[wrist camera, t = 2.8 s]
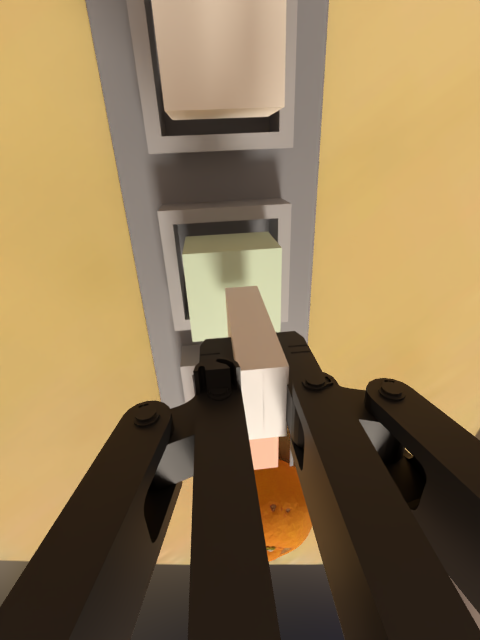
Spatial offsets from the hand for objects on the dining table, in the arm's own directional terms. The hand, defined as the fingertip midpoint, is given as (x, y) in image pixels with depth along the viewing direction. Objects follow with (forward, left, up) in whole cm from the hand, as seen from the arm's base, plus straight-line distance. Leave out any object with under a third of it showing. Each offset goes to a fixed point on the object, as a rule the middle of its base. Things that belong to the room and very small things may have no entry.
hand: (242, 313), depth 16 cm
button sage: (0, 0, -6) cm, 6 cm away
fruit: (+2, -25, -11) cm, 27 cm away
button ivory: (0, +11, -6) cm, 13 cm away
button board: (0, 0, -11) cm, 11 cm away
